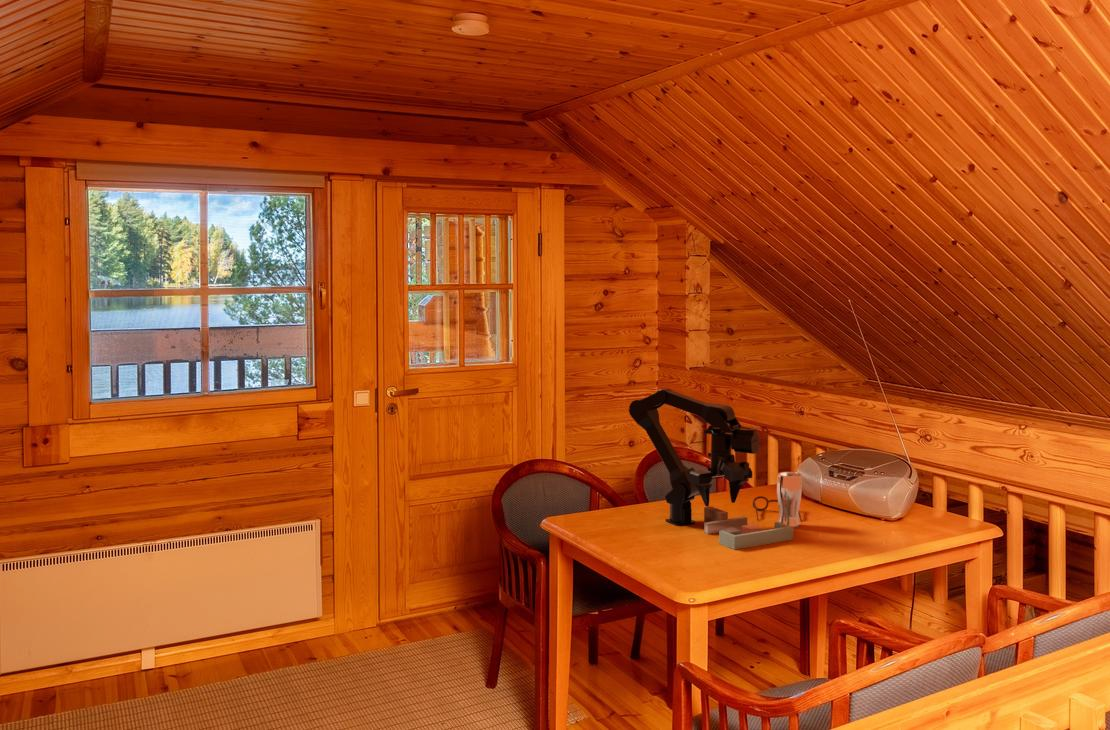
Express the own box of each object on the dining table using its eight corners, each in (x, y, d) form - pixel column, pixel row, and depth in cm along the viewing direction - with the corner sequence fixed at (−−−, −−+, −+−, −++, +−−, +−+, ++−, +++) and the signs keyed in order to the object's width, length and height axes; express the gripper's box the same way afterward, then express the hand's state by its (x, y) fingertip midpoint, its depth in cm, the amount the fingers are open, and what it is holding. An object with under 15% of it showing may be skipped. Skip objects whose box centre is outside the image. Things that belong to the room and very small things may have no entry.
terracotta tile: (741, 534, 276) (741, 525, 276) (752, 532, 278) (753, 524, 278) (750, 538, 273) (750, 529, 272) (761, 536, 274) (762, 527, 274)
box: (719, 543, 266) (719, 530, 266) (777, 534, 276) (777, 521, 275) (734, 549, 261) (734, 536, 260) (793, 539, 270) (793, 526, 270)
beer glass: (801, 529, 281) (802, 477, 279) (776, 528, 282) (777, 476, 281) (800, 523, 287) (801, 472, 286) (775, 521, 289) (776, 471, 287)
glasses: (796, 512, 302) (796, 496, 301) (802, 523, 289) (802, 506, 289) (752, 511, 303) (752, 495, 303) (756, 522, 290) (756, 505, 290)
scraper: (687, 527, 284) (687, 509, 283) (726, 520, 291) (727, 504, 290) (707, 534, 276) (707, 517, 275) (747, 528, 282) (747, 510, 282)
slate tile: (721, 537, 273) (721, 529, 273) (732, 536, 275) (733, 527, 274) (729, 541, 269) (730, 532, 269) (741, 539, 271) (742, 530, 271)
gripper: (711, 458, 268) (710, 514, 270) (765, 452, 277) (764, 506, 279) (687, 451, 278) (686, 506, 280) (740, 445, 287) (739, 498, 288)
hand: (720, 504), depth 281 cm, fingers open, 9 cm apart
